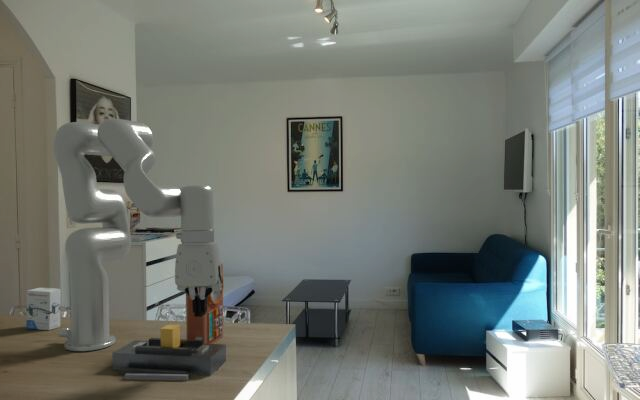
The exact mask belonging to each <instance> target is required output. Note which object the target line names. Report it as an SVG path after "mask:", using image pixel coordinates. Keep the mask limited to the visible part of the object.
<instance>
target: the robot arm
mask: <svg viewBox="0 0 640 400" xmlns="http://www.w3.org/2000/svg"><path fill="white" fill-rule="evenodd" d="M153 144H154V135H153V131H152V130H151V128H149V126H147V124H145V123H143V122H140V121H134V120H128V119H122V118H109V119H106V120H105V121H102V122H101V123H100V124H96V123H89V122H81V121H80V122H79V121H73V122H67V123H64V124H63V125H60V126H59V127H58V129H57V131H56V133H55V135H54V137H53V144H52V145H53V147H52V148H53V154H54V157H55V161H56V164H57V166H58V169H59V173H60V176H61V183H62V184H61V185H62V190H63V196H64V203H65V210H66V215H67V217H68V219H69V220H70V221H71V222H72V223H74V224H81V225H83V224H96V223H97V224H101V226H102V227H100V226H99V227H97V226H96V227H85V228H81V229H76V230H75V231H72V232H71V233H70V234H69V235H68V236H67V238H66V240H65V245H64V246H65V249H64V250H65V254H66V259H67V263H68V270H69V271H68V272H69V290H70V291H69V295H70V297H69V298H70V299H69V300H70V303H69V304H70V327H62V328H61V329H60V332H59V333H58V336H59V337H60V338H66V341H65V342H64V344H63V345H64V349H65V350H68V351H72V352H90V351H95V350H96V351H97V350H100V349H105V348H107V347H110V346H112V345H114V344H115V343H116V337H115V336H114V335H113V334H110V300H109V299H110V298H109V297H110V292H109V289H110V287H109V285H110V284H109V283H110V282H109V276H108V273H107V271H106V269H105V267H104V266H103V264H102V263H103V262H109V261H115V260H121V259H123V258H125V257H126V256H127V255H128V254H129V253H130V251H131V247H132V236H131V235H132V234H131V229H130V224H129V216H128V210H127V205H126V201H125V199H124V197H123V196H122V194H121V193H120V192H118V191H117V190H115V189H109V188H99V186H98V182H97V175H96V171H95V170H94V167H93V166H92V164H91V163H90V162H89V160H88V159H87V158H86V157H85V155H89V156H92V155H93V156H102V157H112V158H113V159H114V161H115V162H116V163H117V164H118V165H119V166H120V167H121V169H122V170H123V172H124V173H123V186H124V191H125V194H126V195H127V197H128V198H129V200H130V201H131V202H132V203H133V205H134V206H135V207H136V208H137V210H139V211H140V212H141V213H142V214H144V215H145V216H146V217H150V218H169V217H172V218H173V217H180V232H179V233H178V232H177V233H176V234H175V238H176V239H177V240H178V239H179V240H180V243H178V244H177V247H176V254H175V264H174V284H175V285H176V286H177V287H176V289H177V291H178V292H183V293H184V292H185V294H186V293H187V294H188V295H189V296H190V298H191V300H192V303H193V312H194V317H198V316H199V317H202V316H204V315H205V314H206V312H207V297H209V295H210V294H211V293H212V292H215V291H219V290H221V289H222V285H221V279H222V272H221V262H222V261H221V256H220V251H219V247H218V242H215V221H214V219H215V217H214V214H215V213H214V193H213V190H214V189H213V188H212V187H211V186H210V185H207V184H206V185H205V184H202V185H201V184H199V185H197V184H196V185H193V184H191V185H170V184H169V185H164V184H162V185H157V184H155V183H153V182H152V180H151V179H150V178H149V177H148V176H147V174H148V173H149V171H151V170H152V169H153V167H154V165H155V163H156V155H155V152H154V151H153V150H152V149H151V148H152V147H153ZM198 287H201V290H200V294H199V289H198Z"/></svg>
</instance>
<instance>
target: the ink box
mask: <svg viewBox="0 0 640 400" xmlns="http://www.w3.org/2000/svg"><path fill="white" fill-rule="evenodd" d="M61 293H62V292H61V289H60V288H55V287H53V288H52V287H37V288H32V289H28V290H26V319H25V320H26V324H25V325H26V326H25V327H26V328H25V329H30V330H41V331H42V330H43V331H51V330H53V329H56V328H60V327H61V302H62V301H61V300H62V299H61V297H62V296H61Z"/></svg>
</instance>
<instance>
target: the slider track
mask: <svg viewBox="0 0 640 400" xmlns="http://www.w3.org/2000/svg"><path fill="white" fill-rule="evenodd" d="M225 362H227V344H225V343H213V344H205V340H190V339H187V338H185V339H184V338H180V346H179V347H161V337H150V338H149V339H148V340H137V339H136V340H133V341H131V342H129V343H127V344H126V345H124V346H122V347H120V348H119V349H116V350H114V351H113V352H112V370H114V371H118V369H120V368H121V367H122V368H140V369H158V370H176V371H187V374H188V375H200V376H212V375H213V374H214V373H215V372H216V371H217V370H218V369H219V368H220V367H222V365H223V364H225Z"/></svg>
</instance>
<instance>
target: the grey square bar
mask: <svg viewBox="0 0 640 400" xmlns="http://www.w3.org/2000/svg"><path fill="white" fill-rule="evenodd" d="M124 380H127V381H128V380H129V381H130V380H131V381H132V380H133V381H134V380H135V381H137V380H138V381H139V380H140V381H141V380H142V381H182V382H183V381H188V380H189V374H134V373H126V374H125V375H124Z"/></svg>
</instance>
